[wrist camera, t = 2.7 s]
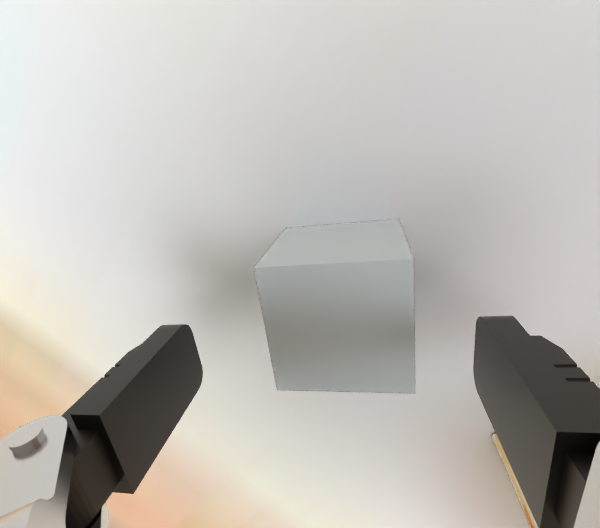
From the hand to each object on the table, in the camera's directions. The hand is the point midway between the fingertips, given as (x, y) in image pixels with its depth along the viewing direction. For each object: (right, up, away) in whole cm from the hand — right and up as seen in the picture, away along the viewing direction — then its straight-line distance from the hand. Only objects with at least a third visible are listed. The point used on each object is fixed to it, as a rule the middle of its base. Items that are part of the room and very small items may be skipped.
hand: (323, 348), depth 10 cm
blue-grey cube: (+1, +2, +5) cm, 5 cm away
